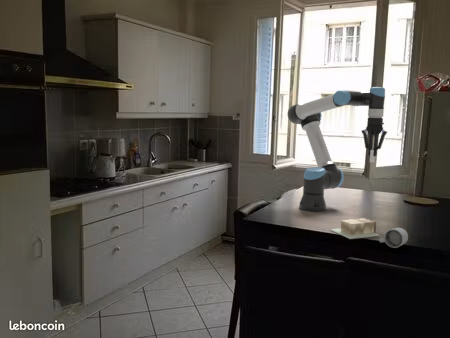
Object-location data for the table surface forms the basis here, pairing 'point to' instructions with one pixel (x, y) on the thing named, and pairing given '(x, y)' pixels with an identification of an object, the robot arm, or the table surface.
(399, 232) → the ceramic mug
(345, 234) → the sage mat
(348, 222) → the birch block
